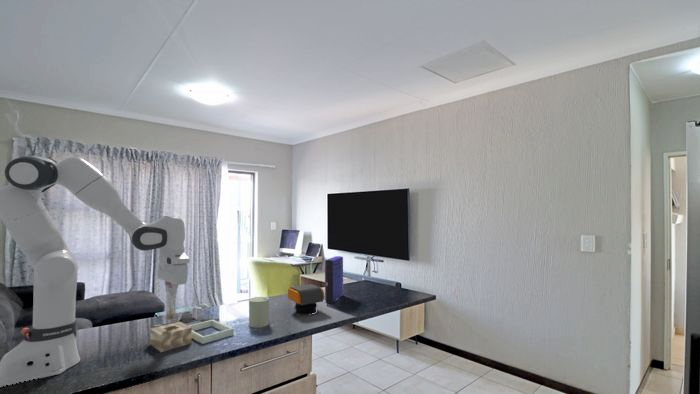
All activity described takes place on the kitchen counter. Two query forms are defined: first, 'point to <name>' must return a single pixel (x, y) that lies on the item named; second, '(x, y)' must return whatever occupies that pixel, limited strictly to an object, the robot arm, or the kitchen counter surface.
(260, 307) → the can
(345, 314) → the kitchen counter surface
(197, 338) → the tray
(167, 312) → the lock pin
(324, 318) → the kitchen counter surface
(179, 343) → the block
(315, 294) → the sander
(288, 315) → the kitchen counter surface
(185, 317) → the pulley system
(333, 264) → the cereal box
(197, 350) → the kitchen counter surface
